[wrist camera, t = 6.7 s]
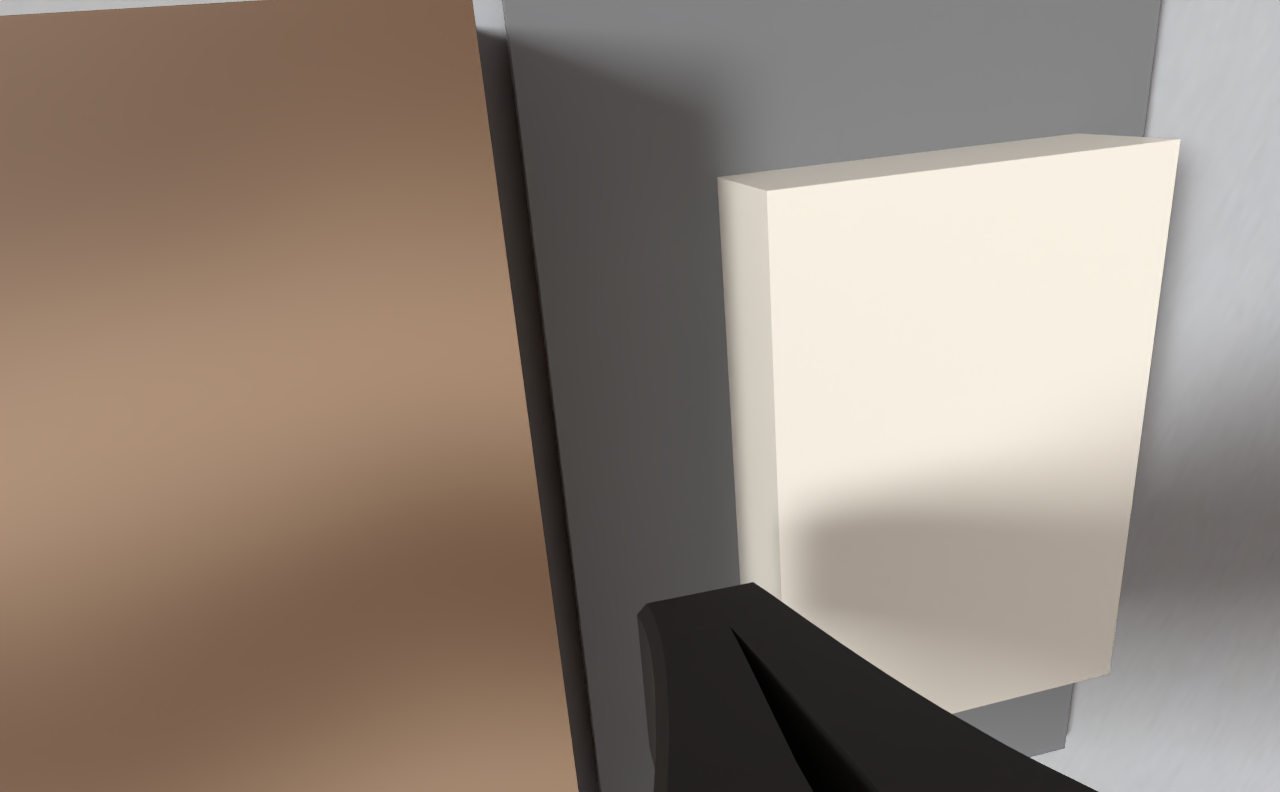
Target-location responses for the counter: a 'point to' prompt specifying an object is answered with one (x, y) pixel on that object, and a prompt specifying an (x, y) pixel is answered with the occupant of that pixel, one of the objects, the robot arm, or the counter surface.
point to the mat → (692, 259)
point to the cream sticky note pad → (947, 399)
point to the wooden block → (264, 411)
